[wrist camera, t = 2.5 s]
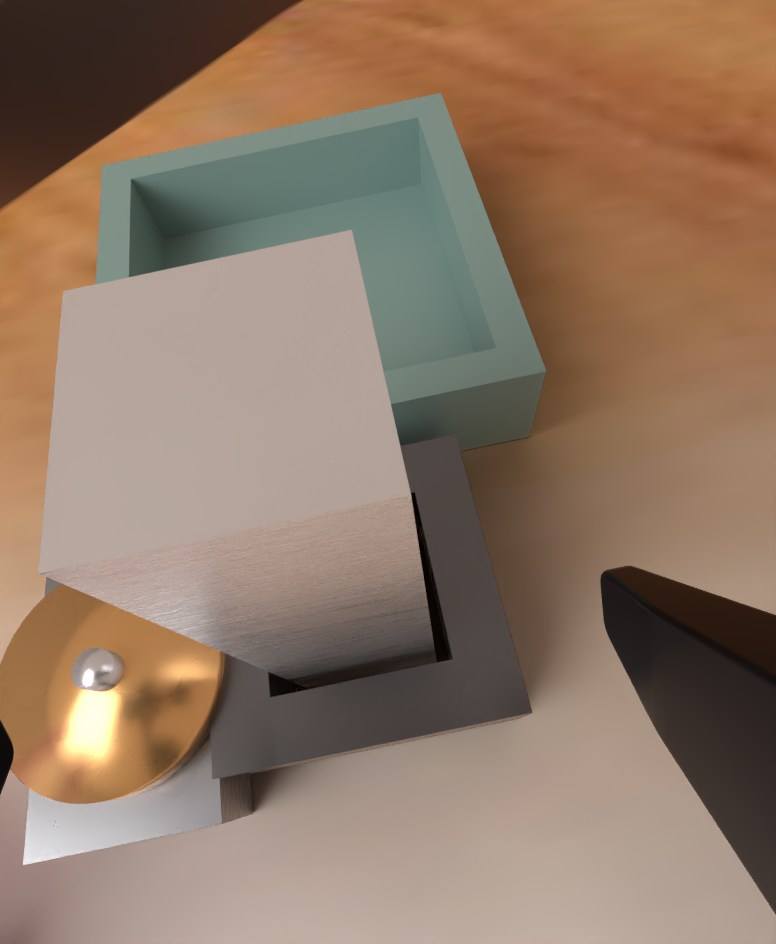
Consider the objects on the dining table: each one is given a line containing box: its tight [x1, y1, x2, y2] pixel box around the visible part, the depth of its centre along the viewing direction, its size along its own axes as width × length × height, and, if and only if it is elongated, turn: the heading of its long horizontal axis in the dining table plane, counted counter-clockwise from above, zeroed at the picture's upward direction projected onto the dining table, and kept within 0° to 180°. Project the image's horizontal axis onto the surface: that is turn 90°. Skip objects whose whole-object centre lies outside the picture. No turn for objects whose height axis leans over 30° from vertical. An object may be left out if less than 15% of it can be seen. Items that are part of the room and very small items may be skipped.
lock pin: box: [38, 230, 436, 689], centre depth 13 cm, size 4×4×13 cm
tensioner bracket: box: [0, 434, 532, 865], centre depth 16 cm, size 9×14×4 cm, turn 101°
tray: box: [96, 93, 546, 451], centre depth 22 cm, size 14×14×4 cm
